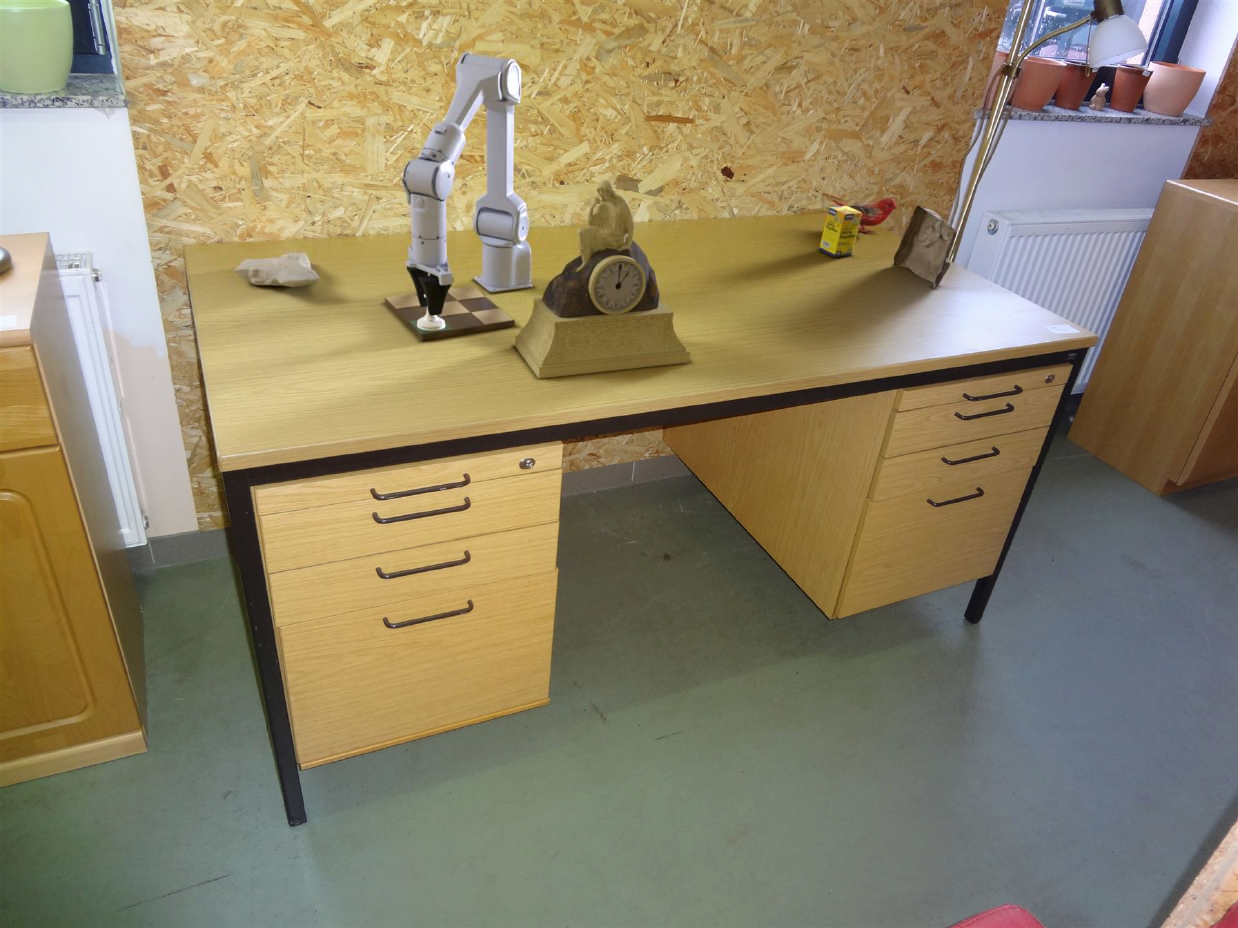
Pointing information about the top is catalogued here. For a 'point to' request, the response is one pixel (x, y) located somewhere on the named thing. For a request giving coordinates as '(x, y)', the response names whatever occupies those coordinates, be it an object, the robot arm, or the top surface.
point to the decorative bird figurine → (873, 212)
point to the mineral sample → (926, 245)
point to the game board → (452, 313)
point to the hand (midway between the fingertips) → (430, 310)
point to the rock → (279, 271)
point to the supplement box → (840, 231)
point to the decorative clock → (601, 304)
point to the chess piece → (430, 321)
